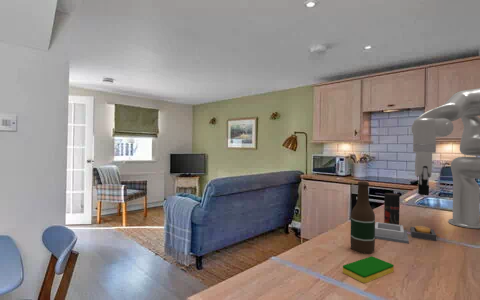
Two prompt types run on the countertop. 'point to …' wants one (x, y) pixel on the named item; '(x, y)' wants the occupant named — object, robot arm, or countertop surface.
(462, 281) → the countertop surface
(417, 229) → the button
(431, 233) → the button housing
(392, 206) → the deodorant
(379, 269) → the dish sponge
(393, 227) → the grey rectangular tray
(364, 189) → the beer bottle
